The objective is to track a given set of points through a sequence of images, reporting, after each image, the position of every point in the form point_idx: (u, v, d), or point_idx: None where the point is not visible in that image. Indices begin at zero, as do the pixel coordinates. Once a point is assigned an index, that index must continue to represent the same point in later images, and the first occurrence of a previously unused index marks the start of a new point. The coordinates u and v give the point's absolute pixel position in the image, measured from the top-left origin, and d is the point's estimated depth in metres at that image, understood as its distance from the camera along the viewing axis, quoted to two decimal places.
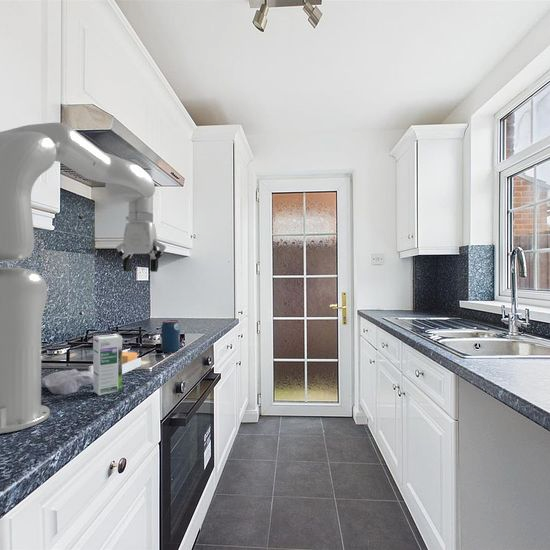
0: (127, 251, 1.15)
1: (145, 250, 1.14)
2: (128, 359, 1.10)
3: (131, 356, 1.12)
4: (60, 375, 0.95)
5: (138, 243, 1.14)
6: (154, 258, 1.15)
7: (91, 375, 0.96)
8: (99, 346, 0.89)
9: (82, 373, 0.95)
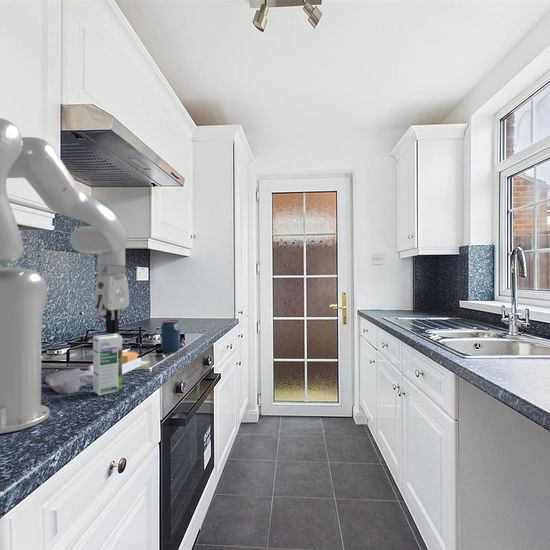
0: (113, 308, 1.03)
1: (127, 305, 1.09)
2: (128, 359, 1.10)
3: (131, 356, 1.12)
4: (64, 374, 0.96)
5: (122, 298, 1.06)
6: (117, 317, 1.07)
7: None
8: (99, 346, 0.89)
9: (86, 372, 0.95)
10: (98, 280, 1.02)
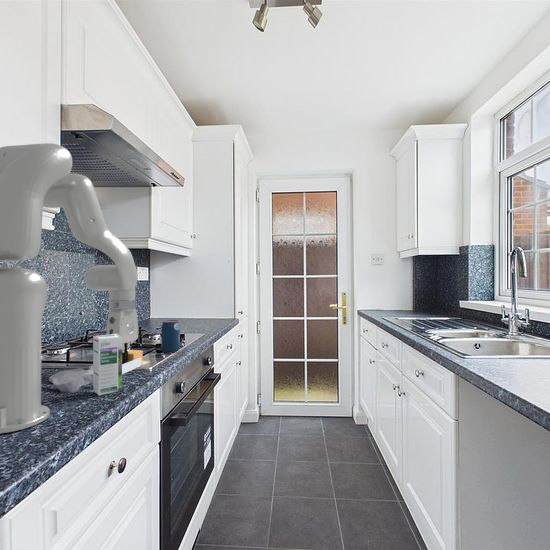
0: (123, 342, 1.07)
1: (136, 337, 1.14)
2: (134, 357, 1.13)
3: (137, 354, 1.15)
4: (67, 373, 0.97)
5: (131, 331, 1.11)
6: (127, 350, 1.12)
7: None
8: (99, 346, 0.89)
9: (89, 371, 0.96)
10: (110, 315, 1.07)
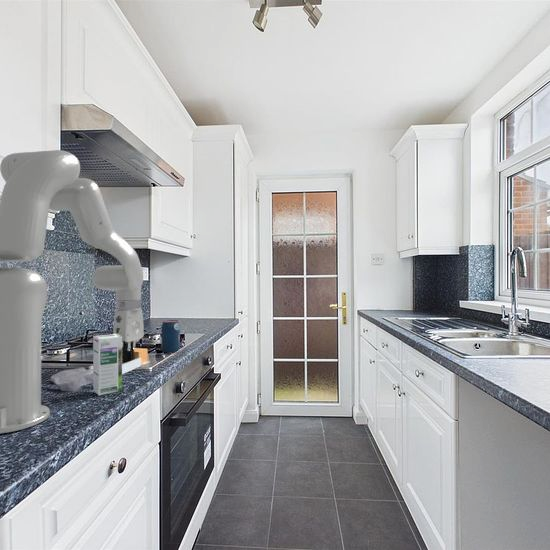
0: (130, 340, 1.10)
1: (142, 336, 1.17)
2: (139, 355, 1.16)
3: (142, 352, 1.17)
4: (69, 373, 0.97)
5: (137, 330, 1.14)
6: (132, 348, 1.15)
7: None
8: (99, 346, 0.89)
9: (91, 371, 0.97)
10: (116, 314, 1.10)
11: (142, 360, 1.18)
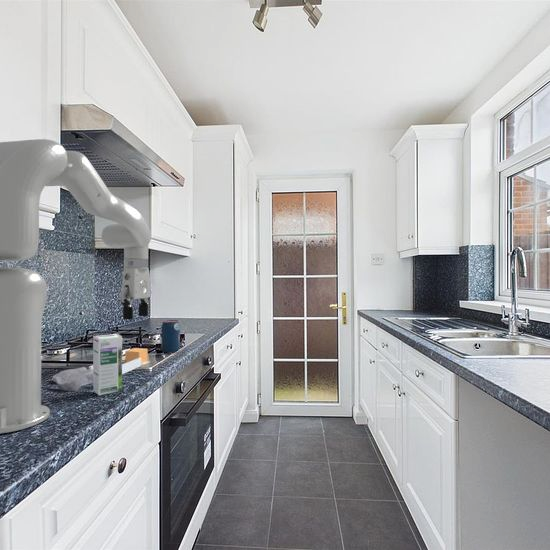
0: (138, 297, 1.14)
1: (149, 295, 1.21)
2: (139, 355, 1.16)
3: (142, 352, 1.17)
4: (71, 373, 0.98)
5: (145, 289, 1.18)
6: (147, 303, 1.23)
7: None
8: (99, 346, 0.89)
9: (92, 371, 0.97)
10: (125, 272, 1.14)
11: (142, 360, 1.18)
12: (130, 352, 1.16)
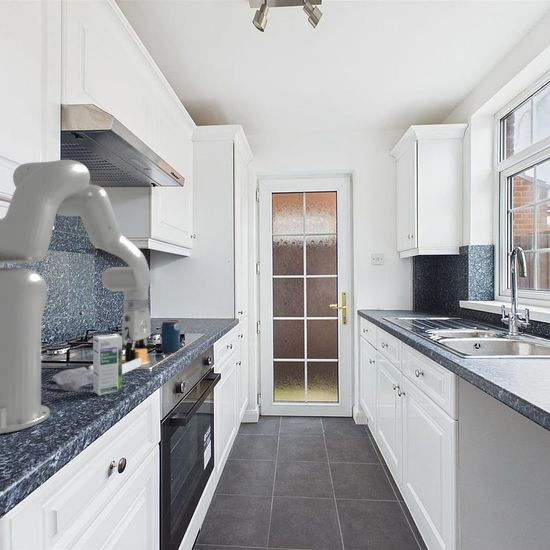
0: (138, 339, 1.15)
1: (149, 335, 1.21)
2: (139, 355, 1.16)
3: (142, 352, 1.17)
4: (71, 373, 0.98)
5: (145, 329, 1.18)
6: (145, 344, 1.22)
7: None
8: (99, 346, 0.89)
9: (92, 371, 0.97)
10: (125, 314, 1.14)
11: (142, 360, 1.17)
12: None
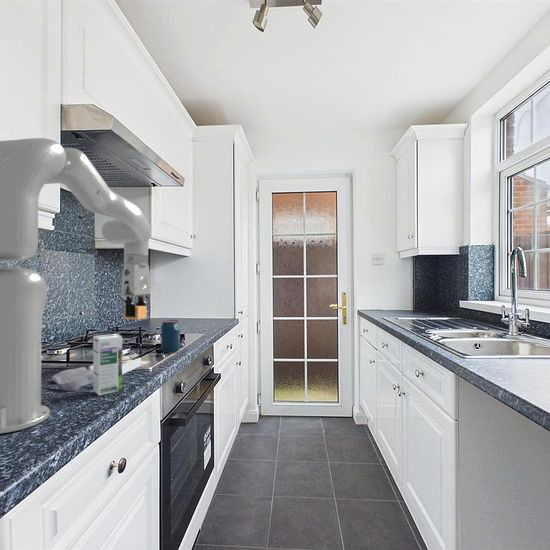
0: (137, 293, 1.14)
1: (149, 292, 1.21)
2: (138, 311, 1.15)
3: (141, 308, 1.17)
4: (71, 373, 0.98)
5: (145, 285, 1.18)
6: (144, 302, 1.21)
7: None
8: (99, 346, 0.89)
9: None
10: (125, 268, 1.14)
11: (141, 316, 1.17)
12: None
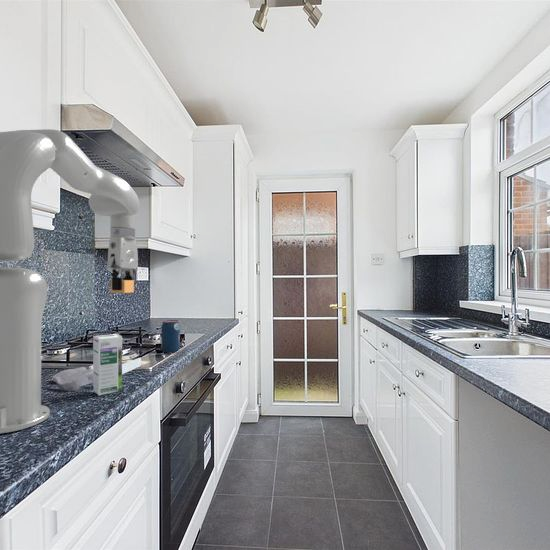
0: (124, 266, 1.14)
1: (136, 266, 1.20)
2: (125, 284, 1.15)
3: (128, 282, 1.16)
4: (71, 373, 0.98)
5: (131, 259, 1.18)
6: (131, 276, 1.20)
7: None
8: (99, 346, 0.89)
9: None
10: (111, 241, 1.13)
11: (128, 290, 1.16)
12: None
